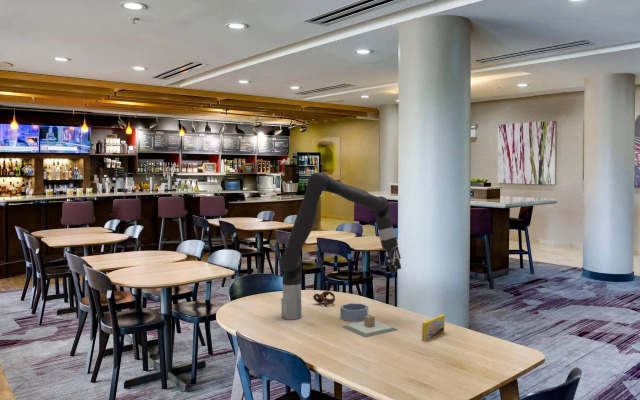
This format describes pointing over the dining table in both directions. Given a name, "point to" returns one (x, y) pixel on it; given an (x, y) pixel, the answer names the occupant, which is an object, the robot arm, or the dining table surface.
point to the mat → (370, 334)
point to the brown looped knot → (324, 298)
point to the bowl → (353, 312)
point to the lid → (369, 326)
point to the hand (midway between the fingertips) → (396, 271)
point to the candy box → (433, 327)
